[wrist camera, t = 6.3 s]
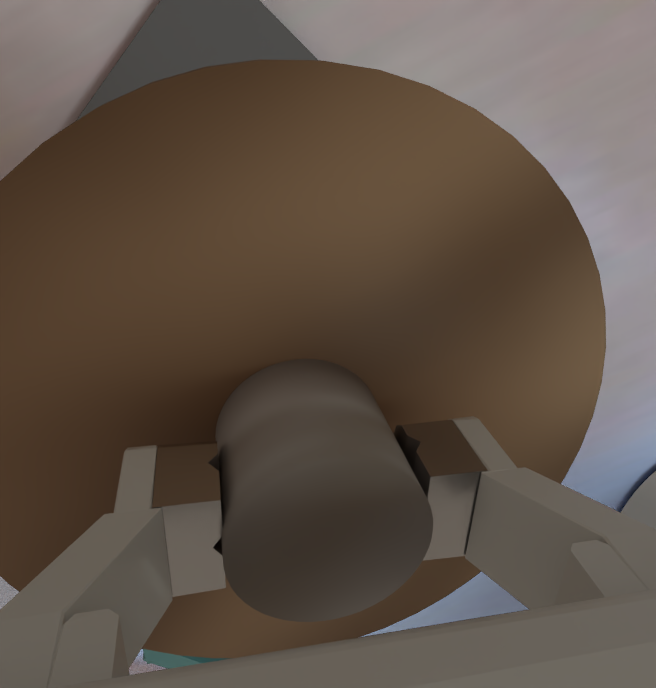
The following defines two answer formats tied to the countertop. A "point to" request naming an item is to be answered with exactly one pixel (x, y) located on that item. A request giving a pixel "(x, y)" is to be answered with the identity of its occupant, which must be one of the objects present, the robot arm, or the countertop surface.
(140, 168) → the lid
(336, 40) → the countertop surface
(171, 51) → the mat
